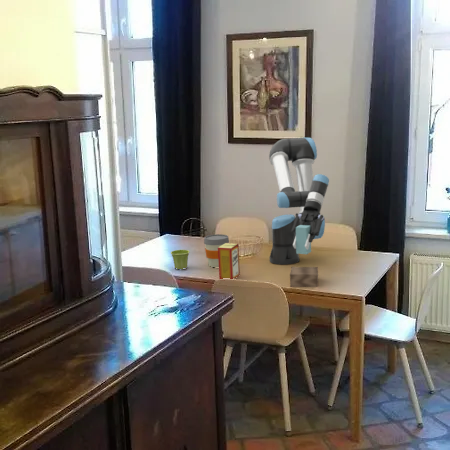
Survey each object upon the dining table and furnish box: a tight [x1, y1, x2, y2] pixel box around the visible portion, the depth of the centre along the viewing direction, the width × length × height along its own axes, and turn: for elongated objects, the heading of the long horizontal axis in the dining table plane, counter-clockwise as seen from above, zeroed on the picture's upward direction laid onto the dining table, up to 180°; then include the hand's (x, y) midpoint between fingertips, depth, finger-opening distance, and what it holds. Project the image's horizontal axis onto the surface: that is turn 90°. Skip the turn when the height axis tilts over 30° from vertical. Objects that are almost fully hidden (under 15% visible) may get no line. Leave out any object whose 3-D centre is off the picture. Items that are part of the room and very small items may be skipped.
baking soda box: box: [218, 242, 241, 279], centre depth 300 cm, size 10×6×16 cm
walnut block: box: [289, 266, 319, 288], centre depth 288 cm, size 12×12×6 cm
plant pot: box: [170, 249, 190, 270], centre depth 321 cm, size 9×9×9 cm
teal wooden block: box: [296, 225, 312, 255], centre depth 284 cm, size 5×5×12 cm
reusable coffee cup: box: [203, 233, 230, 268], centre depth 322 cm, size 12×13×15 cm
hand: (300, 247), depth 282 cm, fingers closed on teal wooden block, 5 cm apart
